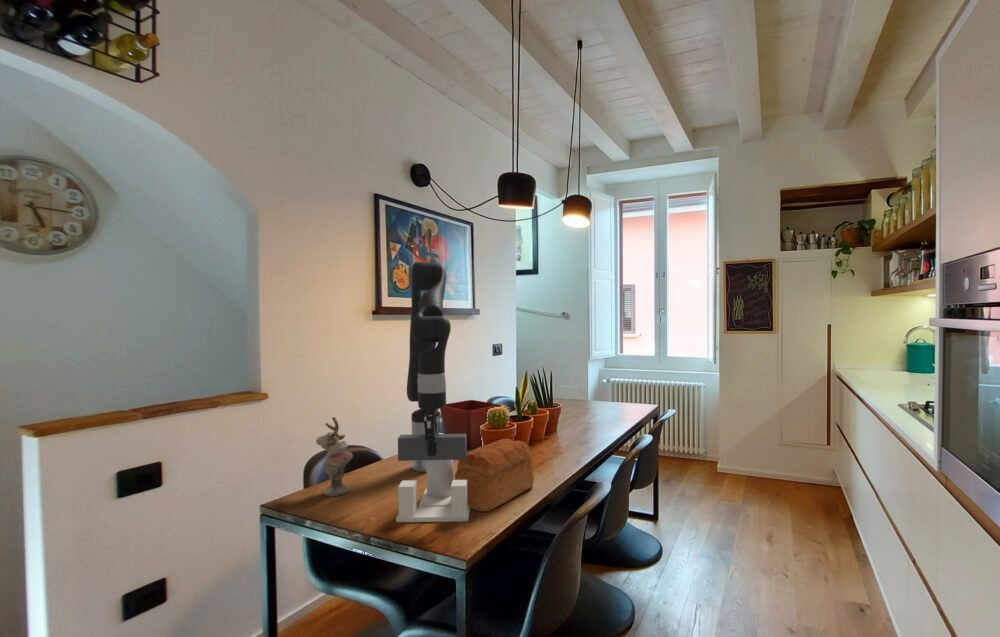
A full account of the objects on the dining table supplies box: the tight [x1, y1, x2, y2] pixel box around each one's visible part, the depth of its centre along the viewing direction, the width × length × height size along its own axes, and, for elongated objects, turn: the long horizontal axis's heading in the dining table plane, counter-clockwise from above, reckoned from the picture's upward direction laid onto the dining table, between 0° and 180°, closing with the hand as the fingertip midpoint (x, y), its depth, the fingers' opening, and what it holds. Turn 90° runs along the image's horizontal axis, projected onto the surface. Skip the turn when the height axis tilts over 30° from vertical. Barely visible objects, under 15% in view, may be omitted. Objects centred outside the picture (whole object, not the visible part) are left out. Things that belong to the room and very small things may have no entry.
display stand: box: [395, 432, 471, 523], centre depth 142 cm, size 22×19×19 cm
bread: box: [454, 438, 535, 512], centre depth 150 cm, size 14×27×15 cm, turn 146°
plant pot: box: [439, 399, 502, 450], centre depth 209 cm, size 19×19×17 cm
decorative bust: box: [315, 416, 354, 497], centre depth 154 cm, size 11×13×25 cm
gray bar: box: [397, 433, 468, 462], centre depth 134 cm, size 18×4×6 cm, turn 90°
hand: (433, 452), depth 134 cm, fingers closed on gray bar, 4 cm apart
